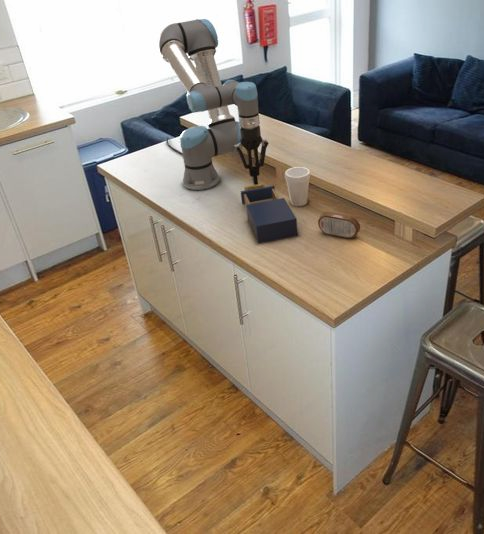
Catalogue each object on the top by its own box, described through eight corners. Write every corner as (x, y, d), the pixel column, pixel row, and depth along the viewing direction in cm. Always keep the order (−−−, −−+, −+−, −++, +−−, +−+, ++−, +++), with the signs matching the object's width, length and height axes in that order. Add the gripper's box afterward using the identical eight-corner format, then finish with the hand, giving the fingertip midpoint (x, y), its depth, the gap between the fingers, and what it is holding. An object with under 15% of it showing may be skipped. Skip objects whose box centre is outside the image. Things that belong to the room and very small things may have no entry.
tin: (360, 236, 198) (360, 216, 193) (357, 241, 196) (357, 220, 191) (320, 229, 204) (320, 209, 199) (317, 234, 202) (316, 213, 197)
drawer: (238, 196, 227) (237, 184, 224) (270, 190, 230) (269, 178, 226) (250, 221, 210) (249, 209, 207) (285, 215, 212) (284, 202, 209)
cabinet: (248, 221, 212) (246, 204, 208) (285, 214, 215) (284, 197, 211) (258, 243, 199) (256, 226, 195) (297, 235, 201) (296, 218, 197)
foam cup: (308, 208, 217) (307, 178, 210) (285, 207, 219) (283, 177, 212) (312, 197, 225) (311, 167, 217) (289, 196, 227) (287, 166, 219)
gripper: (234, 132, 204) (241, 190, 218) (269, 126, 206) (273, 184, 220) (230, 125, 210) (237, 181, 223) (264, 119, 212) (269, 176, 226)
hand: (255, 183), depth 222 cm, fingers closed
